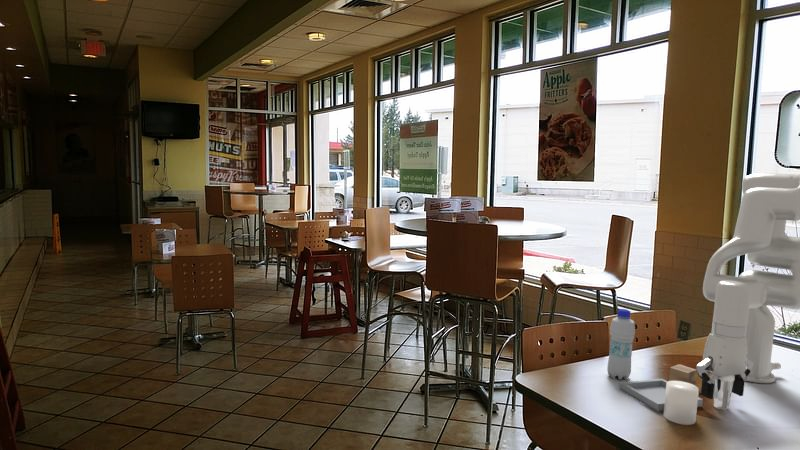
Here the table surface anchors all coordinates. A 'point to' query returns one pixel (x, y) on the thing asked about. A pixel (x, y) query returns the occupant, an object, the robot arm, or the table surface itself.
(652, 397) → the tray
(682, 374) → the walnut block
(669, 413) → the white squat cylinder
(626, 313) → the bottle
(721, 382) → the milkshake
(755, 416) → the table surface
